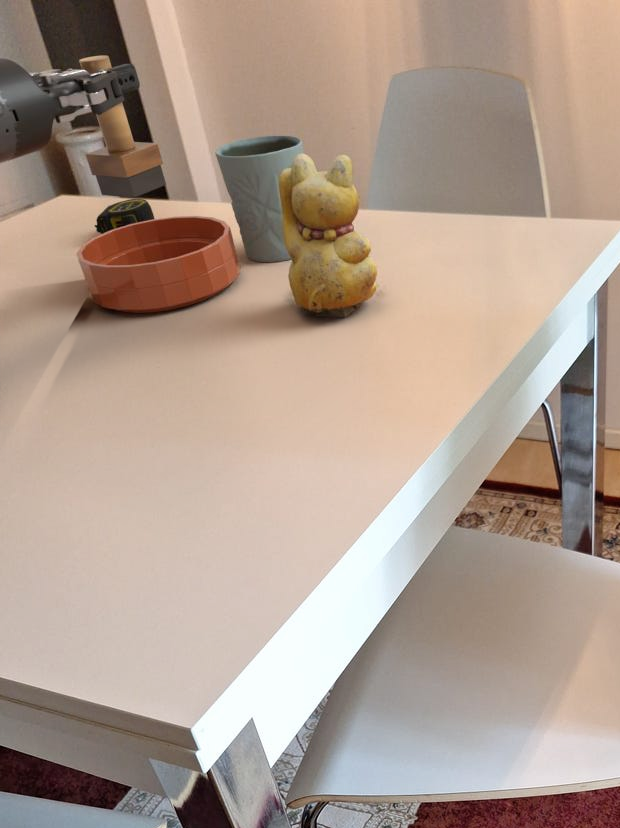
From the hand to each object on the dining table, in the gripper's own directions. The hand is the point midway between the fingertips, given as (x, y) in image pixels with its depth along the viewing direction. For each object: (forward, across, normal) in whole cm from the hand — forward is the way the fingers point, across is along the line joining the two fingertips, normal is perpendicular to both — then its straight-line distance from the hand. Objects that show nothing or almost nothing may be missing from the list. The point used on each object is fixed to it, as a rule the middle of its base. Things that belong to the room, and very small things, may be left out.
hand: (122, 75), depth 93 cm
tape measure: (+15, -25, -22) cm, 36 cm away
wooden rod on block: (-3, 0, -10) cm, 10 cm away
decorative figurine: (+1, +21, -22) cm, 31 cm away
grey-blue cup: (+15, +2, -22) cm, 27 cm away
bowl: (0, -3, -22) cm, 22 cm away
